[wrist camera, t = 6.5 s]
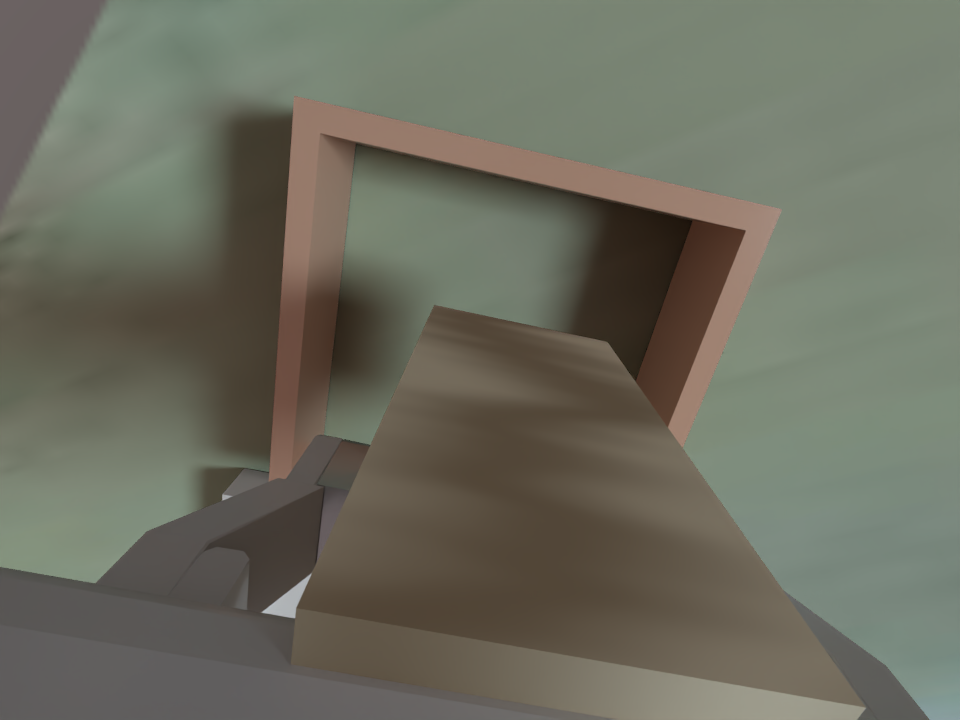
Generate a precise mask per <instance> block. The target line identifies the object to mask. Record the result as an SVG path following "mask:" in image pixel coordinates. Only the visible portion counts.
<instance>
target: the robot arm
mask: <svg viewBox="0 0 960 720" xmlns="http://www.w3.org/2000/svg"><path fill="white" fill-rule="evenodd" d="M369 447H370V445H369V444H364V443H360V442H355V441H350V440H346V439H344V440H343V439H342V438H337V437H331V436H326V435H317V436H315V437H314V439H313V440H312V442H311V443H310V445H309V446H308V447H307V449H306V450H305V452H304V453H303V455H302V456H301V458H300V459H299V460H298V462H297V463H296V465H295V466H294V468H293V469H292V471H291V472H290V473H289V475H288V476H287V478H286V479H281V478H277V479H274V480H272V481H269V482H267V483H264V484H262V485H260V486H257V487H255V488H252V489H250V490H247V491H245V492H242V493H240V494H237V495H235V496H233V497H230V498H228V499H225V500H223V501H220V502H218V503H215V504H213V505H210V506H208V507H206V508H203V509H201V510H198V511H196V512H193V513H191V514H188V515H186V516H183V517H181V518H179V519H176V520H174V521H171V522H169V523H166V524H164V525H161V526H159V527H156V528H154V529H152V530H149V531H147V532H146V533H145V534H144V535H143V536H142V537H141V538H140V539H139V540H138V541H137V542H136V543H135V544H134V545H133V546H132V547H131V548H130V549H129V550H128V551H127V552H126V553H125V554H124V555H123V556H122V557H121V558H120V559H119V560H118V561H117V562H116V563H115V564H114V565H113V566H112V567H111V568H110V569H109V570H108V571H107V572H106V573H105V574H104V575H103V576H102V577H101V578H100V579H99V580H98V581H97V582H96V583H89V582H83V581H78V580H72V579H66V578H61V577H55V576H49V575H43V574H38V573H32V572H26V571H21V570H15V569H9V568H3V567H0V720H617V719H611V718H605V717H600V716H594V715H588V714H582V713H576V712H570V711H564V710H558V709H552V708H546V707H540V706H534V705H528V704H523V703H517V702H511V701H505V700H499V699H493V698H487V697H481V696H475V695H469V694H463V693H457V692H451V691H446V690H440V689H434V688H428V687H422V686H416V685H410V684H404V683H398V682H392V681H386V680H380V679H374V678H369V677H363V676H357V675H351V674H345V673H339V672H333V671H327V670H321V669H315V668H309V667H303V666H297V665H292V664H291V656H292V645H293V635H294V625H295V618H289V617H284V616H278V615H272V614H266V613H261V612H263V611H264V610H265V609H266V608H268V607H269V606H270V605H272V604H273V603H274V602H275V601H277V600H278V599H279V598H281V597H282V596H283V595H284V594H286V593H287V592H288V591H289V590H291V589H292V588H293V587H295V586H296V585H297V584H298V583H300V582H301V581H302V580H304V579H305V578H306V577H307V576H309V575H310V574H311V573H312V572H313V570H314V568H315V566H316V563H317V561H318V559H319V557H320V555H321V552H322V550H323V548H324V546H325V544H326V541H327V539H328V537H329V535H330V533H331V530H332V528H333V526H334V524H335V522H336V519H337V517H338V515H339V513H340V511H341V509H342V506H343V504H344V502H345V500H346V498H347V495H348V493H349V491H350V489H351V487H352V484H353V482H354V480H355V478H356V476H357V473H358V471H359V469H360V467H361V465H362V462H363V460H364V458H365V456H366V454H367V452H368V449H369ZM784 592H785V591H784ZM785 594H786V595H787V597H788V598H789V599H790V601H791V602H792V604H793V605H794V606H795V608H796V609H797V611H798V612H799V614H800V615H801V616H802V618H803V619H804V621H805V622H806V623H807V625H808V626H809V628H810V629H811V630H812V632H813V633H814V635H815V636H816V638H817V639H818V640H819V642H820V643H821V645H822V646H823V647H824V649H825V650H826V652H827V653H828V655H829V656H830V657H831V659H832V660H833V662H834V663H835V664H836V666H837V667H838V669H839V670H840V671H841V673H842V674H843V676H844V677H845V679H846V680H847V681H848V683H849V684H850V686H851V687H852V688H853V690H854V691H855V693H856V694H857V696H858V697H859V698H860V700H861V701H862V703H863V704H864V705H865V707H866V709H865V710H864V711H863V713H862V714H861V715H860V717H859V718H858V719H857V720H929V718H928V717H927V716H926V715H925V714H924V712H923V711H922V710H921V709H920V707H919V706H918V705H917V704H916V702H915V701H914V700H913V699H912V697H911V696H910V695H909V694H908V692H907V691H906V690H905V689H904V687H903V686H902V685H901V684H900V683H899V681H898V680H897V679H896V678H895V676H894V675H893V674H892V673H891V671H890V670H889V669H888V668H887V666H885V665H884V664H883V663H881V662H880V661H879V660H877V659H876V658H875V657H873V656H872V655H870V654H869V653H868V652H866V651H865V650H864V649H862V648H861V647H860V646H858V645H857V644H856V643H854V642H853V641H851V640H850V639H849V638H847V637H846V636H845V635H843V634H842V633H841V632H839V631H838V630H836V629H835V628H834V627H832V626H831V625H830V624H828V623H827V622H826V621H824V620H823V619H822V618H820V617H819V616H817V615H816V614H815V613H813V612H812V611H811V610H809V609H808V608H807V607H805V606H804V605H802V604H801V603H800V602H798V601H797V600H796V599H794V598H793V597H792V596H790V595H789V594H788V593H786V592H785Z"/></svg>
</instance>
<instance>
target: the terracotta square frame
mask: <svg viewBox="0 0 960 720" xmlns="http://www.w3.org/2000/svg"><path fill="white" fill-rule="evenodd" d="M356 144H359V145H363V146H367V147H372V148H376V149H381V150H385V151H389V152H394V153H398V154H402V155H407V156H411V157H416V158H420V159H424V160H429V161H433V162H438V163H442V164H446V165H451V166H455V167H459V168H464V169H468V170H473V171H477V172H481V173H486V174H490V175H494V176H499V177H503V178H508V179H512V180H516V181H521V182H525V183H529V184H534V185H538V186H543V187H547V188H551V189H556V190H560V191H565V192H569V193H573V194H578V195H582V196H586V197H591V198H595V199H600V200H604V201H608V202H613V203H617V204H621V205H626V206H630V207H635V208H639V209H643V210H648V211H652V212H657V213H661V214H665V215H670V216H674V217H678V218H683V219H687V220H692V221H693V222H692V224H691V227H690V230H689V233H688V236H687V238H686V241H685V244H684V247H683V250H682V252H681V255H680V258H679V261H678V264H677V266H676V269H675V272H674V275H673V278H672V280H671V283H670V286H669V289H668V292H667V294H666V297H665V300H664V303H663V306H662V309H661V311H660V314H659V317H658V320H657V323H656V325H655V328H654V331H653V334H652V337H651V339H650V342H649V345H648V348H647V351H646V353H645V356H644V359H643V362H642V365H641V367H640V370H639V373H638V376H637V379H636V383H637V385H638V386H639V387H640V389H641V390H642V392H643V393H644V394H645V396H646V397H647V399H648V400H649V402H650V403H651V404H652V406H653V407H654V409H655V410H656V411H657V413H658V414H659V416H660V417H661V418H662V420H663V421H664V423H665V424H666V426H667V427H668V428H669V430H670V431H671V433H672V434H673V435H674V437H675V438H676V440H677V441H678V442H679V444H680V445H681V447H682V448H683V446H684V444H685V441H686V439H687V436H688V434H689V432H690V429H691V427H692V424H693V422H694V420H695V417H696V415H697V412H698V410H699V408H700V405H701V403H702V400H703V398H704V396H705V393H706V391H707V388H708V386H709V383H710V381H711V379H712V376H713V374H714V371H715V369H716V367H717V364H718V362H719V359H720V357H721V355H722V352H723V350H724V347H725V345H726V343H727V340H728V338H729V335H730V333H731V331H732V328H733V326H734V323H735V321H736V319H737V316H738V314H739V311H740V309H741V307H742V304H743V302H744V299H745V297H746V295H747V292H748V290H749V287H750V285H751V283H752V280H753V278H754V275H755V273H756V271H757V268H758V266H759V263H760V261H761V259H762V256H763V254H764V251H765V249H766V247H767V244H768V242H769V239H770V237H771V235H772V232H773V230H774V227H775V225H776V223H777V220H778V218H779V215H780V213H781V211H782V209H778V208H774V207H770V206H765V205H761V204H757V203H752V202H748V201H744V200H740V199H735V198H731V197H727V196H722V195H718V194H714V193H709V192H705V191H701V190H697V189H692V188H688V187H684V186H679V185H675V184H671V183H666V182H662V181H658V180H654V179H649V178H645V177H641V176H636V175H632V174H628V173H623V172H619V171H615V170H611V169H606V168H602V167H598V166H593V165H589V164H585V163H580V162H576V161H572V160H568V159H563V158H559V157H555V156H550V155H546V154H542V153H537V152H533V151H529V150H525V149H520V148H516V147H512V146H507V145H503V144H499V143H494V142H490V141H486V140H482V139H477V138H473V137H469V136H464V135H460V134H456V133H451V132H447V131H443V130H439V129H434V128H430V127H426V126H421V125H417V124H413V123H409V122H404V121H400V120H396V119H391V118H387V117H383V116H378V115H374V114H370V113H366V112H361V111H357V110H353V109H348V108H344V107H340V106H335V105H331V104H327V103H323V102H318V101H314V100H310V99H305V98H301V97H297V96H294V107H293V122H292V137H291V152H290V167H289V182H288V197H287V213H286V228H285V243H284V258H283V273H282V288H281V303H280V318H279V333H278V348H277V364H276V379H275V394H274V409H273V424H272V439H271V454H270V469H269V481H272V480H274V479H277V478H281V479H286V478H287V476H288V475H289V473H290V472H291V471H292V469H293V468H294V466H295V465H296V463H297V462H298V460H299V459H300V458H301V456H302V455H303V453H304V452H305V450H306V449H307V447H308V446H309V445H310V443H311V442H312V440H313V439H314V437H315V436H317V435H324V429H325V420H326V411H327V402H328V393H329V384H330V374H331V365H332V356H333V347H334V338H335V329H336V320H337V311H338V302H339V293H340V284H341V274H342V265H343V256H344V247H345V238H346V229H347V220H348V211H349V202H350V193H351V184H352V175H353V165H354V156H355V147H356Z"/></svg>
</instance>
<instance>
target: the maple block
mask: <svg viewBox="0 0 960 720" xmlns="http://www.w3.org/2000/svg"><path fill="white" fill-rule="evenodd" d="M291 664H292V665H297V666H303V667H309V668H315V669H321V670H327V671H333V672H339V673H345V674H351V675H357V676H363V677H369V678H374V679H380V680H386V681H392V682H398V683H404V684H410V685H416V686H422V687H428V688H434V689H440V690H446V691H451V692H457V693H463V694H469V695H475V696H481V697H487V698H493V699H499V700H505V701H511V702H517V703H523V704H528V705H534V706H540V707H546V708H552V709H558V710H564V711H570V712H576V713H582V714H588V715H594V716H600V717H605V718H611V719H617V720H857V719H858V718H859V717H860V715H861V714H862V713H863V711H864V710H865V709H866V707H865V705H864V704H863V703H862V701H861V700H860V698H859V697H858V696H857V694H856V693H855V691H854V690H853V688H852V687H851V686H850V684H849V683H848V681H847V680H846V679H845V677H844V676H843V674H842V673H841V671H840V670H839V669H838V667H837V666H836V664H835V663H834V662H833V660H832V659H831V657H830V656H829V655H828V653H827V652H826V650H825V649H824V647H823V646H822V645H821V643H820V642H819V640H818V639H817V638H816V636H815V635H814V633H813V632H812V630H811V629H810V628H809V626H808V625H807V623H806V622H805V621H804V619H803V618H802V616H801V615H800V614H799V612H798V611H797V609H796V608H795V606H794V605H793V604H792V602H791V601H790V599H789V598H788V597H787V595H786V594H785V592H784V591H783V589H782V588H781V587H780V585H779V584H778V582H777V581H776V580H775V578H774V577H773V575H772V574H771V573H770V571H769V570H768V568H767V567H766V565H765V564H764V563H763V561H762V560H761V558H760V557H759V556H758V554H757V553H756V551H755V550H754V549H753V547H752V546H751V544H750V543H749V541H748V540H747V539H746V537H745V536H744V534H743V533H742V532H741V530H740V529H739V527H738V526H737V524H736V523H735V522H734V520H733V519H732V517H731V516H730V515H729V513H728V512H727V510H726V509H725V508H724V506H723V505H722V503H721V502H720V500H719V499H718V498H717V496H716V495H715V493H714V492H713V491H712V489H711V488H710V486H709V485H708V483H707V482H706V481H705V479H704V478H703V476H702V475H701V474H700V472H699V471H698V469H697V468H696V467H695V465H694V464H693V462H692V461H691V459H690V458H689V457H688V455H687V454H686V452H685V451H684V450H683V448H682V447H681V445H680V444H679V442H678V441H677V440H676V438H675V437H674V435H673V434H672V433H671V431H670V430H669V428H668V427H667V426H666V424H665V423H664V421H663V420H662V418H661V417H660V416H659V414H658V413H657V411H656V410H655V409H654V407H653V406H652V404H651V403H650V402H649V400H648V399H647V397H646V396H645V394H644V393H643V392H642V390H641V389H640V387H639V386H638V385H637V383H636V382H635V380H634V379H633V377H632V376H631V375H630V373H629V372H628V370H627V369H626V368H625V366H624V365H623V363H622V362H621V361H620V359H619V358H618V356H617V355H616V353H615V352H614V351H613V349H612V348H611V346H610V345H609V344H608V342H606V341H601V340H597V339H592V338H587V337H582V336H578V335H573V334H568V333H564V332H559V331H554V330H549V329H545V328H540V327H535V326H531V325H526V324H521V323H516V322H512V321H507V320H502V319H498V318H493V317H488V316H483V315H479V314H474V313H469V312H465V311H460V310H455V309H450V308H446V307H441V306H436V305H434V307H433V309H432V311H431V313H430V316H429V318H428V320H427V322H426V324H425V327H424V329H423V331H422V333H421V335H420V338H419V340H418V342H417V344H416V346H415V349H414V351H413V353H412V355H411V357H410V359H409V362H408V364H407V366H406V368H405V370H404V373H403V375H402V377H401V379H400V381H399V384H398V386H397V388H396V390H395V392H394V395H393V397H392V399H391V401H390V403H389V406H388V408H387V410H386V412H385V414H384V416H383V419H382V421H381V423H380V425H379V427H378V430H377V432H376V434H375V436H374V438H373V441H372V443H371V445H370V447H369V449H368V452H367V454H366V456H365V458H364V460H363V462H362V465H361V467H360V469H359V471H358V473H357V476H356V478H355V480H354V482H353V484H352V487H351V489H350V491H349V493H348V495H347V498H346V500H345V502H344V504H343V506H342V509H341V511H340V513H339V515H338V517H337V519H336V522H335V524H334V526H333V528H332V530H331V533H330V535H329V537H328V539H327V541H326V544H325V546H324V548H323V550H322V552H321V555H320V557H319V559H318V561H317V563H316V566H315V568H314V570H313V572H312V574H311V576H310V579H309V581H308V583H307V585H306V587H305V590H304V592H303V594H302V596H301V598H300V601H299V603H298V605H297V607H296V615H295V625H294V635H293V645H292V656H291Z"/></svg>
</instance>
